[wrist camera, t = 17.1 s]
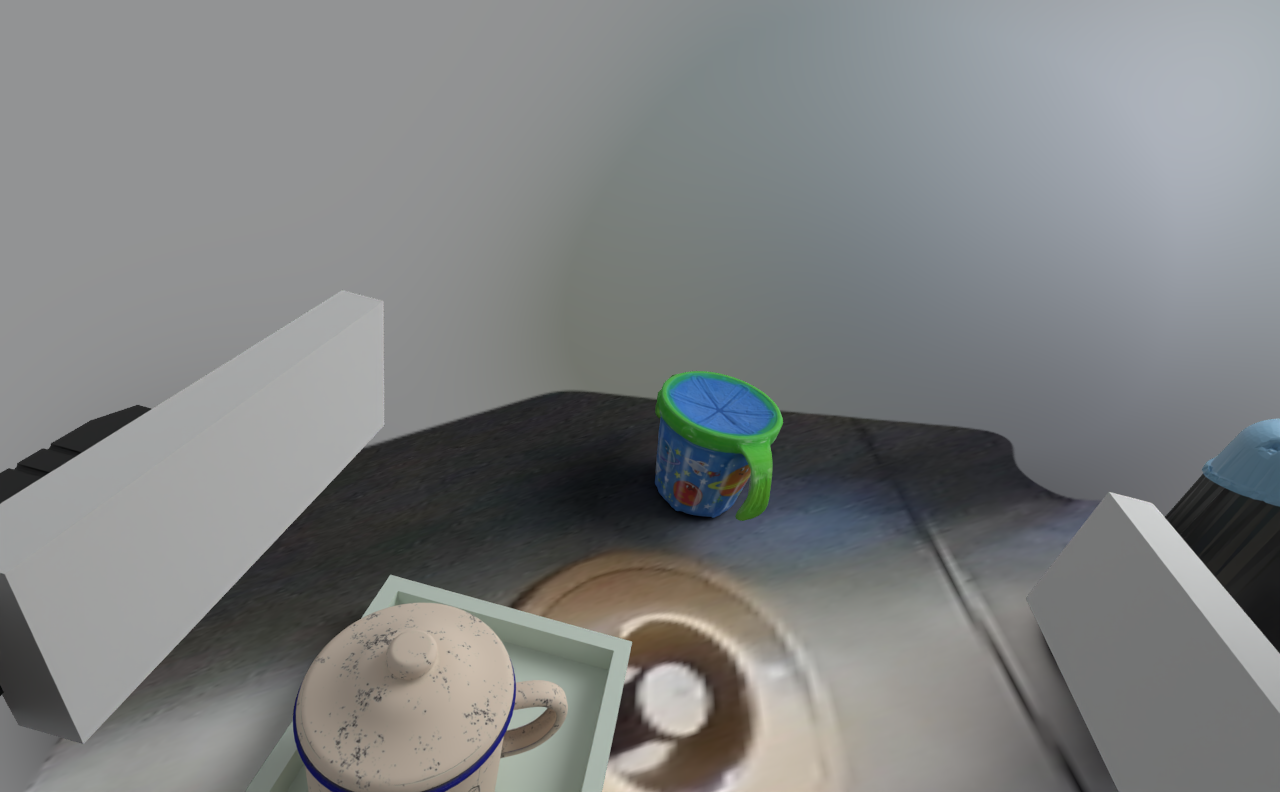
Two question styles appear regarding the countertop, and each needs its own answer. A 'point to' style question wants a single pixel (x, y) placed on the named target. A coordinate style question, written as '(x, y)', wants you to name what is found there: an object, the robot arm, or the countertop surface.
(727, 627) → the countertop surface
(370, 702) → the teacup with lid
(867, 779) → the countertop surface
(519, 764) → the sage tray
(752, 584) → the countertop surface
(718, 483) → the snack cup
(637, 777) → the countertop surface
